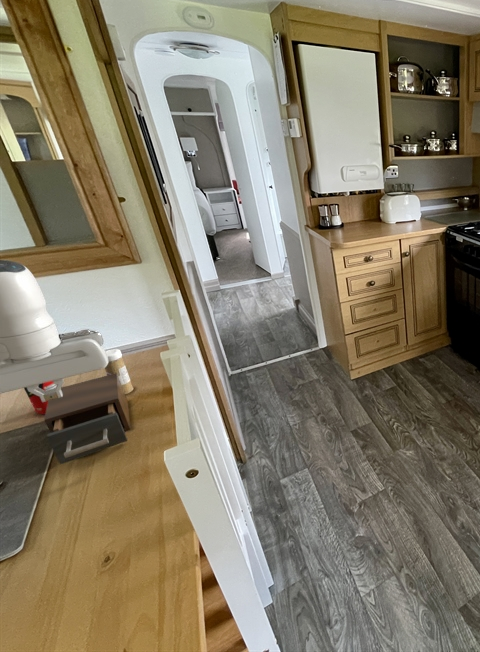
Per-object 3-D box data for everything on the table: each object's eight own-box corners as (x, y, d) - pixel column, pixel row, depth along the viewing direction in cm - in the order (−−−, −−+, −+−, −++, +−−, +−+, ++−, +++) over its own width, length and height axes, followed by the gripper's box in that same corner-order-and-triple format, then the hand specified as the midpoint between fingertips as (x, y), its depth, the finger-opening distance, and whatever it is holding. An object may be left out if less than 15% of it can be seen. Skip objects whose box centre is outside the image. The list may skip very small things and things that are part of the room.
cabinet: (130, 429, 97) (118, 398, 94) (60, 453, 89) (43, 419, 86) (127, 402, 107) (116, 372, 104) (64, 421, 99) (50, 390, 96)
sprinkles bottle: (109, 396, 110) (93, 356, 105) (122, 387, 114) (107, 348, 109) (126, 396, 110) (110, 356, 105) (138, 387, 114) (124, 348, 109)
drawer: (128, 453, 88) (117, 427, 85) (58, 479, 81) (43, 451, 78) (125, 413, 102) (115, 388, 99) (64, 432, 94) (52, 406, 91)
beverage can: (59, 399, 108) (43, 363, 103) (75, 404, 106) (59, 367, 102) (30, 413, 102) (12, 375, 97) (46, 418, 100) (28, 380, 96)
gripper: (98, 322, 83) (117, 375, 88) (-50, 349, 71) (-18, 409, 76) (98, 332, 79) (118, 387, 84) (-60, 363, 66) (-25, 426, 71)
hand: (52, 398), depth 80 cm, fingers closed
